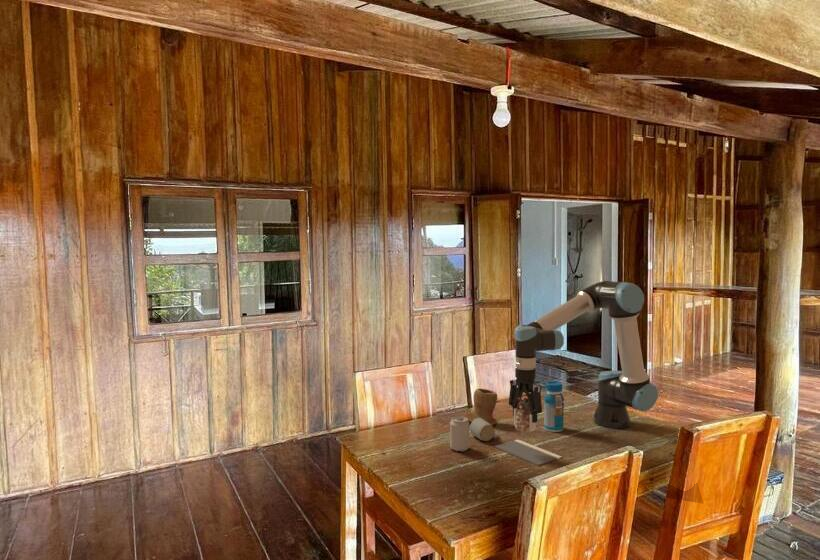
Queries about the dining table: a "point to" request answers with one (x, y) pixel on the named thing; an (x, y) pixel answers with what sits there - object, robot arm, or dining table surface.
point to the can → (459, 434)
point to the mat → (525, 453)
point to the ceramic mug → (482, 429)
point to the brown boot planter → (483, 406)
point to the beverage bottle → (553, 407)
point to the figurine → (523, 416)
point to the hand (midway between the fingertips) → (524, 427)
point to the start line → (538, 449)
